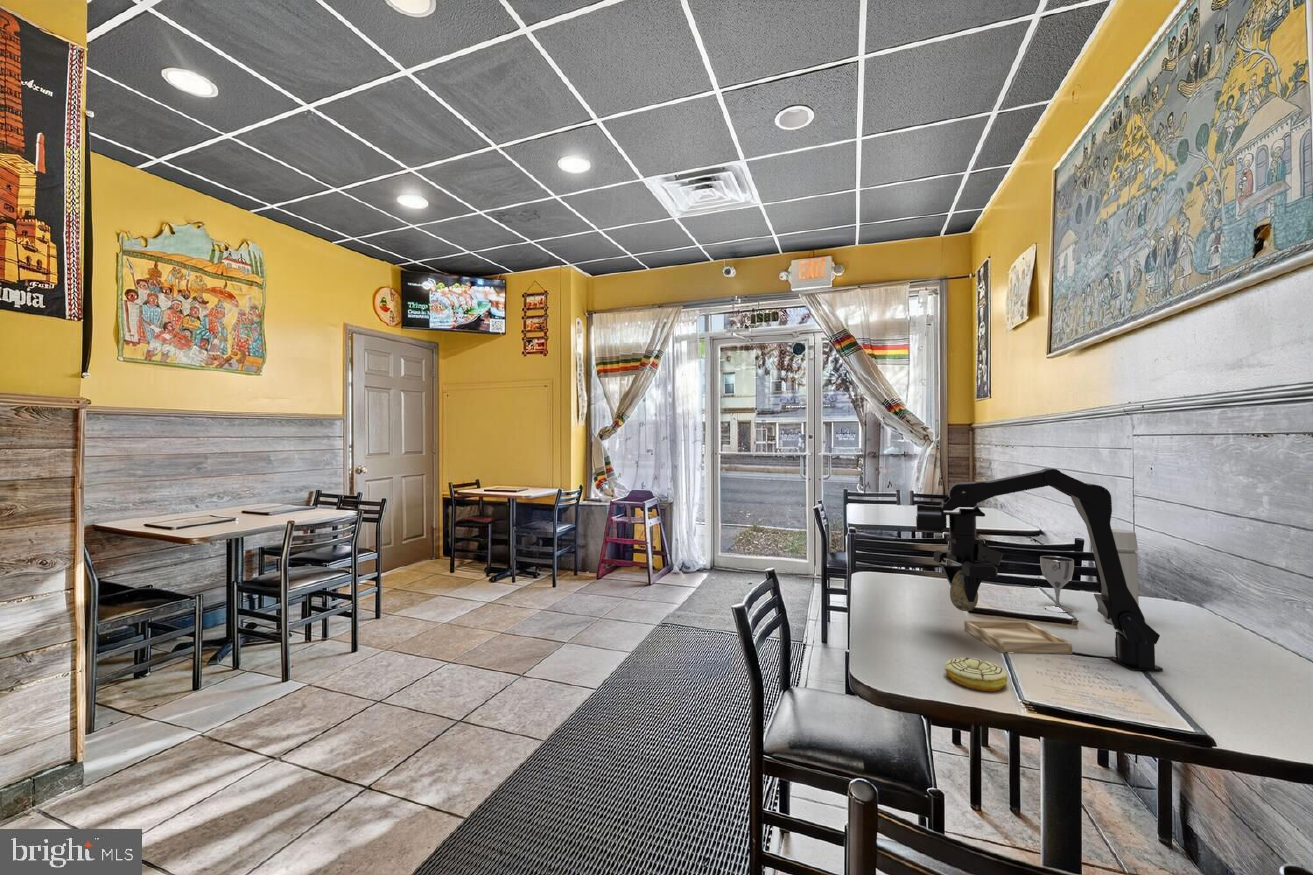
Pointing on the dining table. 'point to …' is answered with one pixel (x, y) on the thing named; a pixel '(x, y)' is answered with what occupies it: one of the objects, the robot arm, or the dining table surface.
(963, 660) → the decorated donut
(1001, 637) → the wooden tray
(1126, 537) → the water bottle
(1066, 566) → the wine glass
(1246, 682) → the dining table surface
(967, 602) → the decorative egg
